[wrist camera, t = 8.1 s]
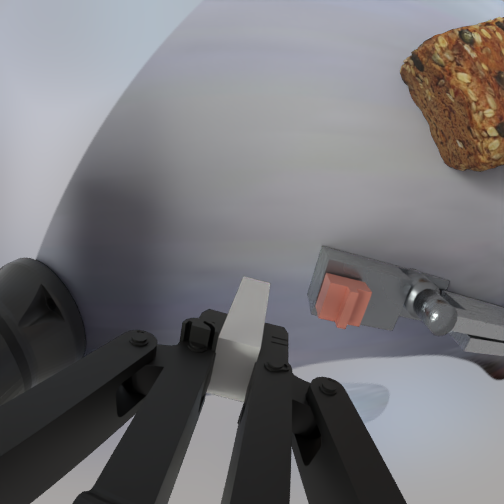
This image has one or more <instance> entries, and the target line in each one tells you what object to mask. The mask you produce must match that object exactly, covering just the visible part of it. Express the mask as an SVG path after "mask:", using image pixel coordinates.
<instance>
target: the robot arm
mask: <svg viewBox="0 0 504 504" xmlns="http://www.w3.org/2000/svg"><path fill="white" fill-rule="evenodd" d="M269 290H270V283H268V282H264V281H260V280H256V279H252V278H248V277H244V276H243V279H242V281H241V284H240V286H239V288H238V291H237V293H236V296H235V298H234V301H233V303H232V306H231V308H230V310H229V313H228V314H226V313H222V312H218V311H215V310H211V309H208V310H206V311H204V312H202V314H201V316H200V317H199V318H190V319H186V320H185V321H184V322H183V323H182V329H181V336H180V342H179V343H178V345H173V346H168V345H158V344H157V339H156V338H155V336H153V335H152V334H150V333H148V332H145V331H141V330H132V331H128V332H126V333H124V334H122V335H120V336H119V337H117V338H115V339H114V340H112V341H110V342H109V343H107V344H105V345H104V346H102V347H100V348H98V349H97V350H95V351H93V352H92V353H90V354H88V355H87V356H85V357H83V355H84V352H85V345H86V339H85V331H84V326H83V322H82V319H81V316H80V313H79V311H78V308H77V306H76V304H75V302H74V300H73V298H72V296H71V295H70V293H69V291H68V290H67V288H66V287H65V285H64V284H63V283H62V281H61V280H60V279H59V278H58V277H57V276H56V275H55V274H54V273H53V272H52V271H51V270H50V269H49V268H48V267H47V266H45V265H44V264H42V263H40V262H39V261H37V260H34V259H31V258H20V259H17V260H15V261H13V262H10V263H8V264H6V265H4V266H3V267H2V268H1V269H0V504H30V503H31V502H33V501H34V500H35V499H36V498H38V497H39V496H40V495H41V494H43V493H44V492H45V491H46V490H48V489H49V488H50V487H51V486H52V485H54V484H55V483H56V482H57V481H59V480H60V479H61V478H62V477H63V476H65V475H66V474H67V473H68V472H69V471H71V470H72V469H73V468H74V467H75V466H76V465H78V464H79V463H80V462H81V461H82V460H84V459H85V458H86V457H87V456H88V455H90V454H91V453H92V452H93V451H94V450H95V449H96V448H98V447H99V446H100V445H101V444H102V443H103V442H105V441H106V440H107V439H108V438H109V437H110V436H111V435H112V434H114V433H115V432H116V431H117V430H118V429H119V428H120V427H122V426H123V425H124V424H125V423H126V422H127V421H128V420H129V419H130V418H131V417H133V416H134V415H135V414H136V415H135V416H134V418H133V420H132V422H131V423H130V425H129V427H128V428H127V430H126V432H125V433H124V435H123V437H122V438H121V440H120V442H119V444H118V445H117V447H116V449H115V450H114V452H113V454H112V455H111V457H110V459H109V461H108V462H107V464H106V466H105V467H104V469H103V471H102V473H101V475H100V476H99V478H98V480H97V481H96V483H95V485H94V486H93V488H92V489H91V490H90V491H84V492H82V493H81V494H79V495H78V496H77V498H76V499H75V501H74V502H73V504H168V501H169V498H170V495H171V493H172V490H173V487H174V484H175V481H176V479H177V476H178V473H179V470H180V467H181V465H182V462H183V459H184V457H185V454H186V451H187V448H188V445H189V443H190V440H191V437H192V434H193V432H194V429H195V426H196V423H197V421H198V418H199V415H200V412H201V409H202V406H203V404H204V401H205V396H206V392H207V393H210V394H213V395H217V396H221V397H225V398H228V399H232V400H236V401H240V402H244V404H243V407H242V410H241V413H240V416H239V420H238V429H237V433H236V438H235V443H234V447H233V452H232V457H231V461H230V466H229V471H228V475H227V479H226V483H225V488H224V492H223V497H222V501H221V504H289V501H290V500H289V499H290V478H291V446H292V449H293V452H294V456H295V459H296V463H297V466H298V469H299V472H300V476H301V480H302V483H303V486H304V489H305V493H306V496H307V499H308V502H309V504H407V503H406V501H405V499H404V498H403V496H402V494H401V492H400V490H399V488H398V486H397V484H396V482H395V481H394V479H393V477H392V475H391V473H390V471H389V469H388V468H387V466H386V464H385V462H384V460H383V458H382V456H381V455H380V453H379V451H378V449H377V447H376V445H375V443H374V442H373V440H372V438H371V436H370V434H369V432H368V431H367V429H366V427H365V425H364V423H363V421H362V420H361V418H360V416H359V414H358V412H357V410H356V409H355V407H354V405H353V403H352V401H351V400H350V398H349V396H348V394H347V392H346V390H345V389H344V387H343V386H342V385H341V384H340V383H339V382H337V381H336V380H333V379H331V378H326V377H317V378H315V379H313V380H312V382H311V383H309V382H306V381H304V380H302V379H300V378H298V377H296V376H295V375H294V374H293V373H292V368H291V366H290V364H289V363H288V333H287V331H286V330H285V328H284V327H280V326H276V325H272V324H268V323H265V317H266V310H267V303H268V296H269Z"/></svg>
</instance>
